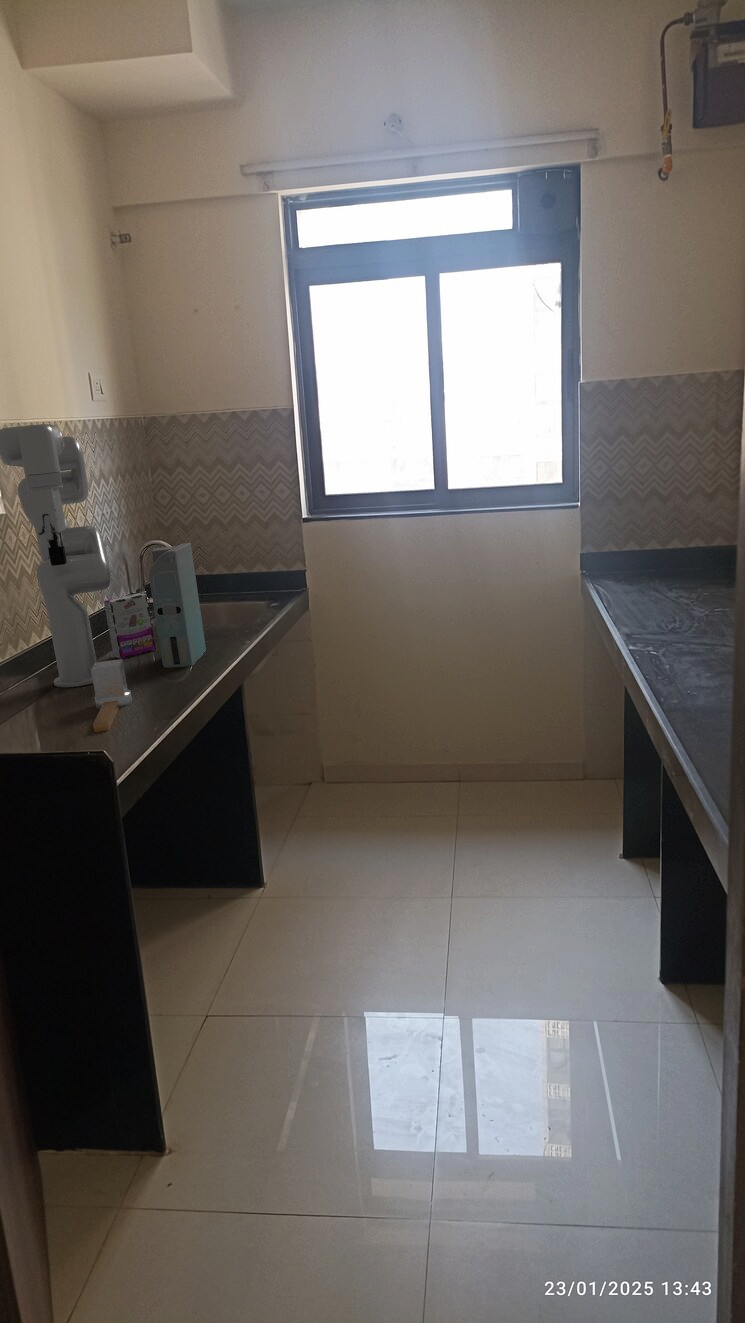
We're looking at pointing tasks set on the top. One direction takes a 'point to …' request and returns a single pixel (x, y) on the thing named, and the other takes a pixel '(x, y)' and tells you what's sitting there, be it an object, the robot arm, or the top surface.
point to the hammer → (109, 710)
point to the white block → (109, 679)
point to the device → (176, 606)
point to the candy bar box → (129, 625)
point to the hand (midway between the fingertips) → (59, 564)
